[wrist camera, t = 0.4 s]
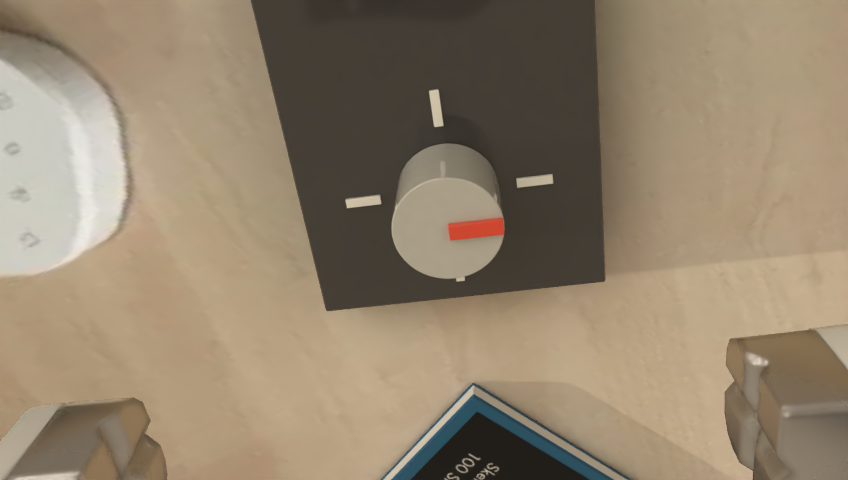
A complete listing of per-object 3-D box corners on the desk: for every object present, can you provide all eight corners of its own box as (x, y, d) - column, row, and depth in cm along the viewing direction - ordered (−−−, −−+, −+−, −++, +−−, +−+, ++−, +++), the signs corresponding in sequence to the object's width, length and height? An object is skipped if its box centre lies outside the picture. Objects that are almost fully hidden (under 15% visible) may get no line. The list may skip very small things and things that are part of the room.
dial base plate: (263, -36, 28) (242, -24, 25) (578, -84, 27) (592, -78, 24) (335, 277, 35) (325, 314, 32) (593, 248, 33) (606, 284, 31)
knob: (405, 241, 30) (400, 289, 27) (389, 149, 28) (381, 188, 25) (503, 230, 30) (510, 277, 26) (493, 136, 28) (499, 174, 25)
